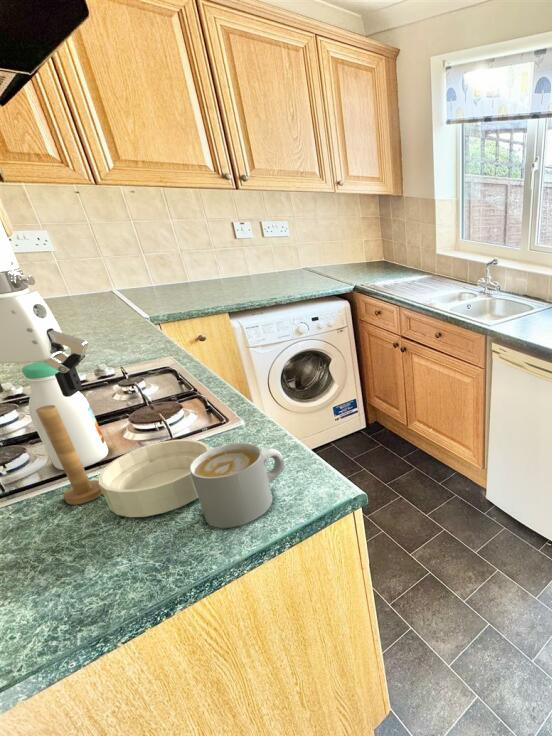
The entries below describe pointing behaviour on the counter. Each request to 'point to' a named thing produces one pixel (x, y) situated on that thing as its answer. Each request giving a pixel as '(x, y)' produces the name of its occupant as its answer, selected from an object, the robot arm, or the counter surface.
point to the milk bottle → (64, 415)
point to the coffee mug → (234, 483)
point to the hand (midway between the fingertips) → (34, 394)
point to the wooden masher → (68, 458)
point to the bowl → (151, 478)
